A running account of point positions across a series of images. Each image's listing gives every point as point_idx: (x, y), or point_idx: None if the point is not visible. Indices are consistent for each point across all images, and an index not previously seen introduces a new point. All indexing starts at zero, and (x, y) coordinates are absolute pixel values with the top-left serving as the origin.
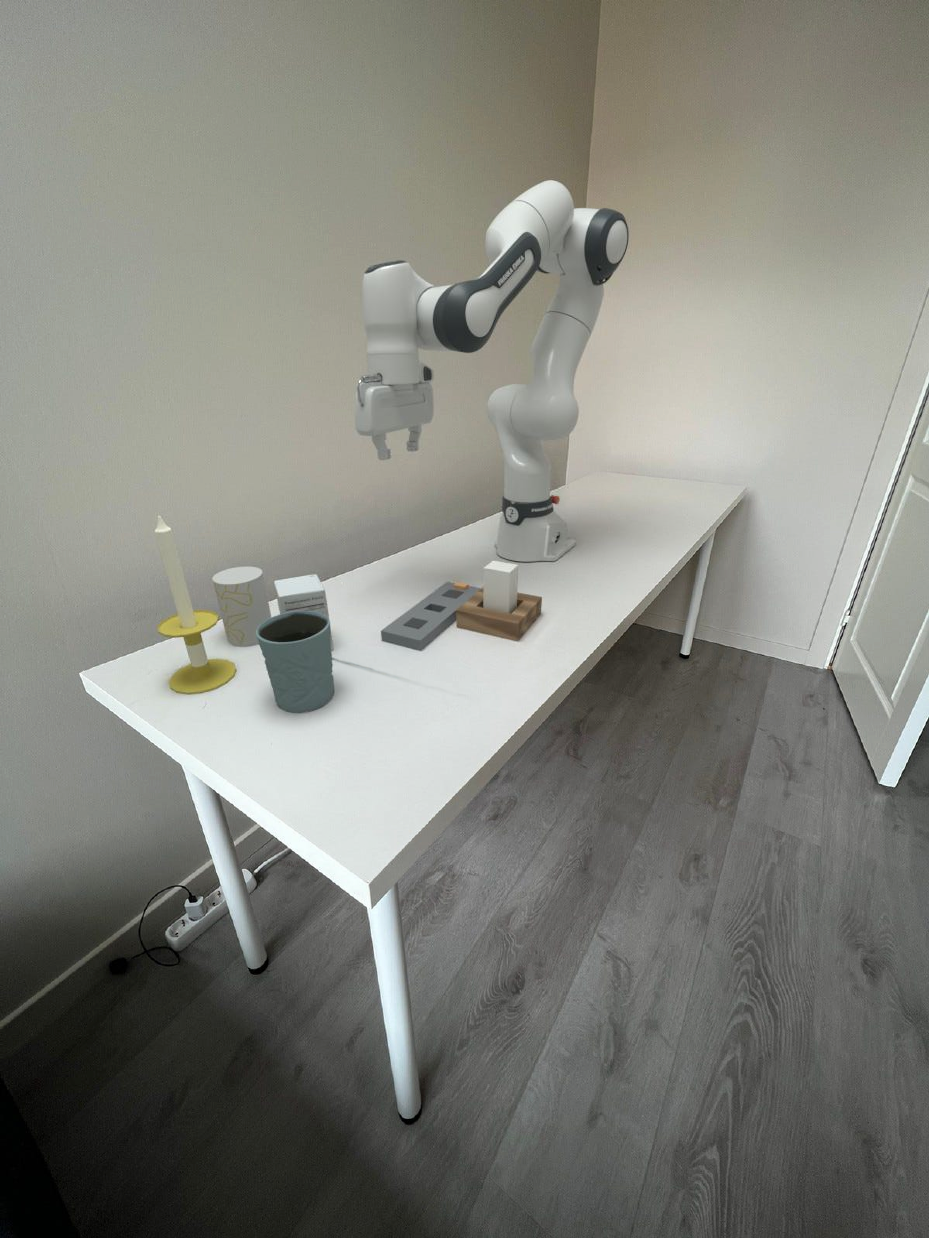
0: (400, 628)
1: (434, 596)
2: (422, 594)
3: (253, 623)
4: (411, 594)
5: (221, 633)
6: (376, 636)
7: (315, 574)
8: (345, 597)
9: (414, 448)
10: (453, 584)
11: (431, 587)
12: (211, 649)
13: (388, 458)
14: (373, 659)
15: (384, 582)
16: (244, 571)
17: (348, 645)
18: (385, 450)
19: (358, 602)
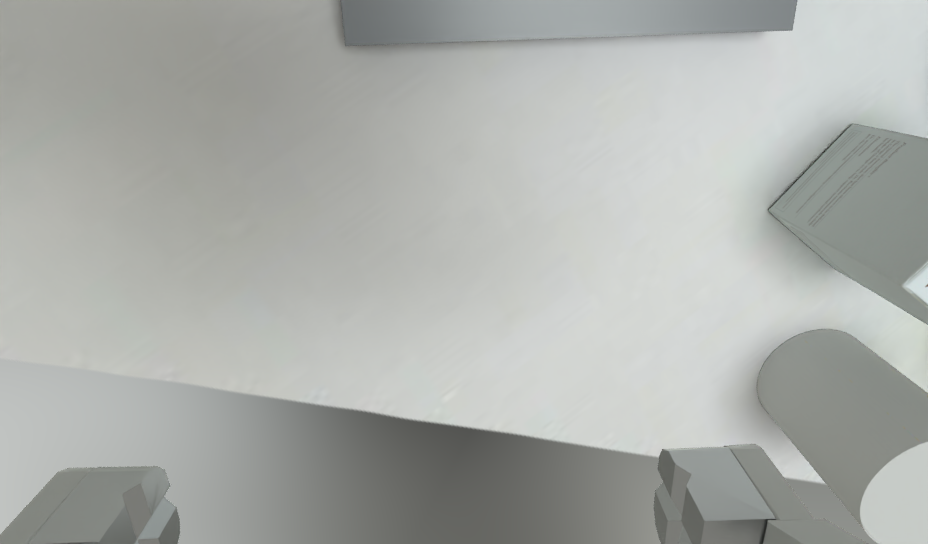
0: None
1: (485, 14)
2: (396, 129)
3: (887, 364)
4: (414, 163)
5: None
6: (716, 84)
7: (910, 286)
8: (529, 326)
9: (139, 483)
10: (354, 7)
11: (331, 134)
12: None
13: (708, 447)
14: (845, 3)
15: (380, 294)
16: (903, 501)
17: (790, 125)
18: (812, 517)
19: (541, 273)
